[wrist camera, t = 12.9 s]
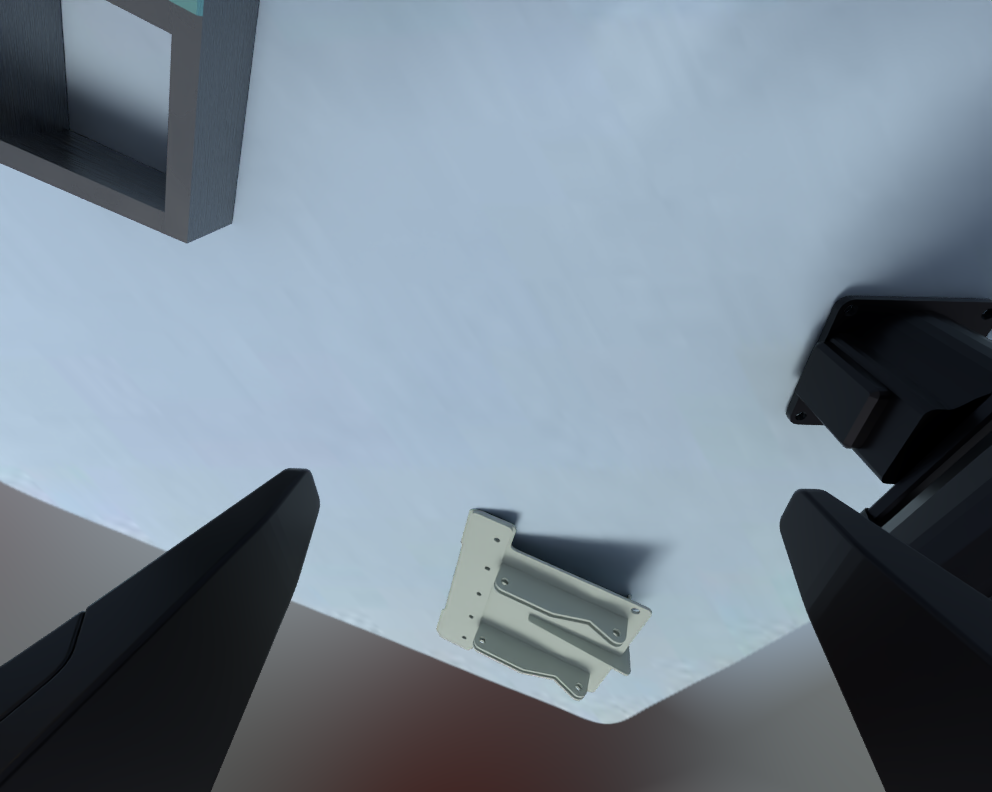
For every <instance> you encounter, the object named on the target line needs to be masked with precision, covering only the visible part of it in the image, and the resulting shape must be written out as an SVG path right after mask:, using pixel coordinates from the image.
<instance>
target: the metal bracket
mask: <svg viewBox="0 0 992 792" xmlns="http://www.w3.org/2000/svg"><path fill="white" fill-rule="evenodd" d="M515 532H516V527H515V525H513V524H511V523H509V522H507V521H504V520H502V519H500V518H497V517H495V516H493V515H490V514H488V513H486V512H484V511H481V510H477V509H471V510H470V511H469V515H468V518H467V522H466V525H465V529H464V532H463V536H462V539H461V543H462V547H461V551H460V554H459V558H458V562H457V566H456V569H455V573H454V577H453V580H452V584H451V588H450V591H449V595H448V599H447V603H446V606H445V609H443V610H442V611H441V614H440V618H439V621H438V625H437V628H436V630H437V632H438V633H439V636H440V637H441V638H443V639H445V640H447V641H449V642H451V643H453V644H455V645H458V646H460V647H462V648H464V649H466V650H470V649H472V648H473V647H474V649H475V651H477V652H478V653H480V654H482V655H484V656H486V657H488V658H490V659H492V660H494V661H496V662H498V663H501V664H503V665H505V666H507V667H509V668H511V669H513V670H515V671H517V672H519V673H521V674H526V675H531V676H536V677H541V678H546V679H551V680H554V681H555V682H556V683H557V684H558V685H559V686H560V687H561V688H562V689H563V690H564V691H565V692H566V693H567V694H568V695H569V696H570V697H571V698H572V699H574V700H576V701H580V700H582V699H583V697H584V696H585V695H586V693H587V691H588V692H595V690H596V689H597V688H598V686H599V685H600V683H601V682H602V681H603V679H604V678H605V677H606V675H607V674H608V673H609V671H610V670H611V669H614V670H616V671H617V672H619V673H621V674H623V675H625V676H628V675H629V674H630V672H631V669H630V654H629V645H630V643H631V642H632V641H633V639H634V638H635V637H636V635H637V634H638V633H639V631H640V630H641V629H642V627H643V626H644V625H645V623H646V622H647V621H648V619H649V618H650V617H651V614H652V611H651V609H649V608H648V607H646V606H644V605H641V604H639V603H637V602H635V601H632V600H631V595H628V597H627V598H625V597H623V596H621V595H619V594H616V593H614V592H612V591H610V590H607V589H605V588H603V587H601V586H598V585H596V584H594V583H592V582H589V581H587V580H585V579H583V578H580V577H578V576H576V575H574V574H571V573H569V572H567V571H565V570H562V569H560V568H558V567H556V566H553V565H551V564H549V563H547V562H544V561H542V560H540V559H537V558H535V557H533V556H531V555H528V554H526V553H524V552H522V551H519V550H517V549H515V548H514V547H513V546H512V541H513V538H514V535H515ZM496 538H498V539H499V540H498V539H496ZM486 566H487V567H486ZM488 567H489V568H488ZM479 592H480V593H479ZM632 608H636V609H638V610H639V611H638V612H635V611H633V610H632ZM480 641H482V642H483V643H481V642H480ZM576 687H577V688H578V689H579V691H578V690H577V689H576Z"/></svg>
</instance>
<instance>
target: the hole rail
mask: <svg viewBox="0 0 992 792" xmlns="http://www.w3.org/2000/svg"><path fill="white" fill-rule="evenodd" d="M106 1H108V2H110V3H112V4H114V5H116V6H118V7H120V8H122V9H124V10H126V11H128V12H130V13H132V14H134V15H136V16H138V17H139V18H141V19H143V20H145V21H147V22H149V23H151V24H153V25H155V26H157V27H159V28H161V29H163V30H165V31H167V32H169V33H171V34H172V43H171V69H170V94H169V119H168V144H167V170H166V174H164V173H162V172H160V171H158V170H155V169H153V168H151V167H149V166H147V165H144V164H142V163H140V162H138V161H136V160H133V159H131V158H129V157H127V156H125V155H122V154H120V153H118V152H116V151H114V150H111V149H109V148H107V147H105V146H103V145H100V144H98V143H96V142H94V141H92V140H89V139H87V138H85V137H83V136H81V135H78V134H76V133H74V132H72V131H70V130H69V121H68V107H67V93H66V79H65V65H64V50H63V36H62V22H61V8H60V0H0V163H1V164H3V165H6V166H8V167H10V168H13V169H15V170H17V171H20V172H22V173H24V174H27V175H29V176H31V177H34V178H36V179H38V180H41V181H43V182H45V183H48V184H50V185H52V186H55V187H57V188H59V189H62V190H64V191H66V192H69V193H71V194H73V195H75V196H78V197H80V198H82V199H85V200H87V201H89V202H92V203H94V204H96V205H99V206H101V207H103V208H106V209H108V210H110V211H113V212H115V213H117V214H120V215H122V216H124V217H127V218H129V219H131V220H134V221H136V222H138V223H141V224H143V225H145V226H147V227H150V228H152V229H154V230H157V231H159V232H161V233H164V234H166V235H168V236H171V237H173V238H175V239H178V240H180V241H182V242H185V243H189V242H192V241H194V240H196V239H198V238H201V237H203V236H205V235H207V234H209V233H212V232H214V231H216V230H218V229H221V228H223V227H225V226H227V225H230V224H232V217H233V209H234V201H235V193H236V184H237V176H238V168H239V160H240V152H241V144H242V136H243V128H244V120H245V111H246V103H247V95H248V87H249V79H250V71H251V63H252V55H253V47H254V38H255V30H256V22H257V14H258V6H259V0H106Z"/></svg>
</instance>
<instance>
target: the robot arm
mask: <svg viewBox="0 0 992 792" xmlns="http://www.w3.org/2000/svg"><path fill="white" fill-rule="evenodd" d="M850 305H852V308H851V309H850V310H849V311H847V312H845V310H846V308H847V307H849V306H850ZM986 310H987V311H986ZM984 311H986V312H985V313H984V314H982V313H983V312H984ZM991 329H992V300H991V299H976V298H932V297H888V296H846V297H843V298H841V299H840V300H839V301H837V302H836V304H835V305H834V307H833V309H832V311H831V313H830V315H829V318H828V320H827V322H826V324H825V327H824V329H823V331H822V333H821V335H820V338H819V340H818V342H817V344H816V346H815V347H814V349H813V351H812V353H811V355H810V358H809V360H808V362H807V364H806V367H805V369H804V371H803V373H802V376H801V378H800V380H799V382H798V384H797V387H796V389H795V393H794V396H793V398H792V400H791V402H790V405H789V407H788V409H787V412H786V415H787V417H788V419H789V420H790V421H791V422H792V423H793V424H801V425H825V426H826V428H827V429H828V430H829V431H830V432H831V433H832V434H833V435H834V437H835V438H836V439H837V440H838V441H839V442H840V443H841V444H842V445H843V447H845V448H849V449H852V450H853V451H854V452H855V453H856V454H857V455H858V456H859V457H860V458H861V459H862V460H863V462H864V463H865V464H866V465H867V466H868V467H869V468H870V469H871V470H872V471H873V473H874V474H875V475H876V476H877V477H878V478H879V479H880V480H881V481H882V482H883V483H886V484H895V485H894V486H893V487H892V488H891V489H889V490H888V491H887V492H886V493H885V494H884V495H883V496H882V497H881V498H880V499H879V500H878V501H877V502H876V503H874V504H873V505H872V506H871V507H870V508H865V509H864V510H863V511H862V512H861V513H858V512H857V511H855V510H854V509H852V508H851V507H849V506H848V505H846V504H845V503H843V502H841V501H840V500H838V499H837V498H835V497H834V496H832V495H831V494H829V493H828V492H826V491H824V490H820V489H798V490H797V491H795V492H794V494H793V495H792V497H791V499H790V501H789V503H788V505H787V507H786V509H785V511H784V513H783V515H782V516H781V519H780V532H781V535H782V538H783V542H784V545H785V548H786V551H787V554H788V557H789V560H790V563H791V566H792V569H793V572H794V576H795V579H796V582H797V585H798V588H799V591H800V594H801V597H802V600H803V603H804V606H805V608H806V611H807V614H808V616H809V619H810V621H811V623H812V626H813V628H814V630H815V633H816V635H817V637H818V639H819V642H820V644H821V646H822V648H823V651H824V653H825V655H826V657H827V660H828V662H829V664H830V667H831V669H832V671H833V673H834V676H835V678H836V680H837V682H838V685H839V687H840V689H841V691H842V694H843V696H844V698H845V701H846V703H847V705H848V707H849V710H850V712H851V714H852V716H853V719H854V721H855V723H856V725H857V728H858V730H859V732H860V734H861V737H862V739H863V741H864V744H865V745H866V748H867V750H868V753H869V755H870V757H871V759H872V761H873V764H874V766H875V768H876V771H877V773H878V775H879V777H880V780H881V782H882V784H883V787H884V789H885V791H886V792H992V340H990V339H988V338H986V336H987V335H988V333H989V332H990V330H991ZM800 412H802V413H801V414H799V415H797V414H798V413H800ZM319 508H320V499H319V495H318V492H317V489H316V486H315V482H314V479H313V476H312V473H311V472H310V471H309V470H308V469H302V468H288V469H285V470H283V471H282V472H280V473H279V474H277V475H276V476H275V477H273V478H272V479H270V480H269V481H267V482H266V483H265V484H263V485H262V486H260V487H259V488H257V489H256V490H255V491H253V492H252V493H250V494H249V495H247V496H246V497H244V498H243V499H242V500H240V501H239V502H237V503H236V504H234V505H233V506H232V507H230V508H229V509H227V510H226V511H224V512H223V513H222V514H220V515H219V516H217V517H216V518H214V519H213V520H212V521H210V522H209V523H207V524H206V525H204V526H203V527H201V528H200V529H199V530H197V531H196V532H194V533H193V534H191V535H190V536H189V537H187V538H186V539H184V540H183V541H181V542H180V543H179V544H177V545H176V546H174V547H173V548H171V549H170V550H169V551H167V552H166V553H164V554H163V555H161V556H160V557H158V558H157V559H156V560H154V561H153V562H151V563H150V564H148V565H147V566H146V567H144V568H143V569H141V570H140V571H138V572H137V573H136V574H134V575H133V576H131V577H130V578H128V579H127V580H126V581H124V582H123V583H121V584H120V585H119V586H117V587H116V588H114V589H113V590H111V591H110V592H108V593H107V594H105V595H104V596H103V597H101V598H100V599H98V600H97V601H95V602H94V603H92V604H91V605H90V606H88V607H87V609H86V612H85V611H81V612H79V613H78V614H77V615H75V616H74V617H72V618H71V619H69V620H68V621H66V622H65V623H64V624H62V625H61V626H59V627H58V628H56V629H55V630H54V631H52V632H51V633H49V634H48V635H47V636H45V637H43V638H42V639H41V640H39V641H37V642H36V643H34V644H33V645H32V646H30V647H28V648H27V649H26V650H24V651H23V652H21V653H20V654H18V655H17V656H15V657H14V658H13V659H11V660H9V661H8V662H7V663H5V664H3V665H2V666H0V792H211V790H212V787H213V785H214V783H215V780H216V778H217V776H218V773H219V771H220V768H221V766H222V764H223V761H224V759H225V756H226V754H227V751H228V749H229V747H230V745H231V742H232V740H233V737H234V735H235V732H236V730H237V728H238V725H239V723H240V721H241V718H242V716H243V713H244V711H245V709H246V706H247V704H248V701H249V699H250V697H251V694H252V692H253V689H254V687H255V684H256V682H257V680H258V677H259V675H260V673H261V670H262V668H263V665H264V663H265V661H266V658H267V656H268V654H269V651H270V649H271V646H272V644H273V641H274V639H275V637H276V634H277V632H278V629H279V627H280V625H281V622H282V620H283V618H284V615H285V613H286V610H287V608H288V606H289V603H290V601H291V598H292V596H293V593H294V591H295V588H296V586H297V583H298V580H299V576H300V573H301V570H302V567H303V563H304V560H305V557H306V553H307V550H308V546H309V543H310V540H311V536H312V533H313V530H314V526H315V523H316V519H317V516H318V513H319Z"/></svg>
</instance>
